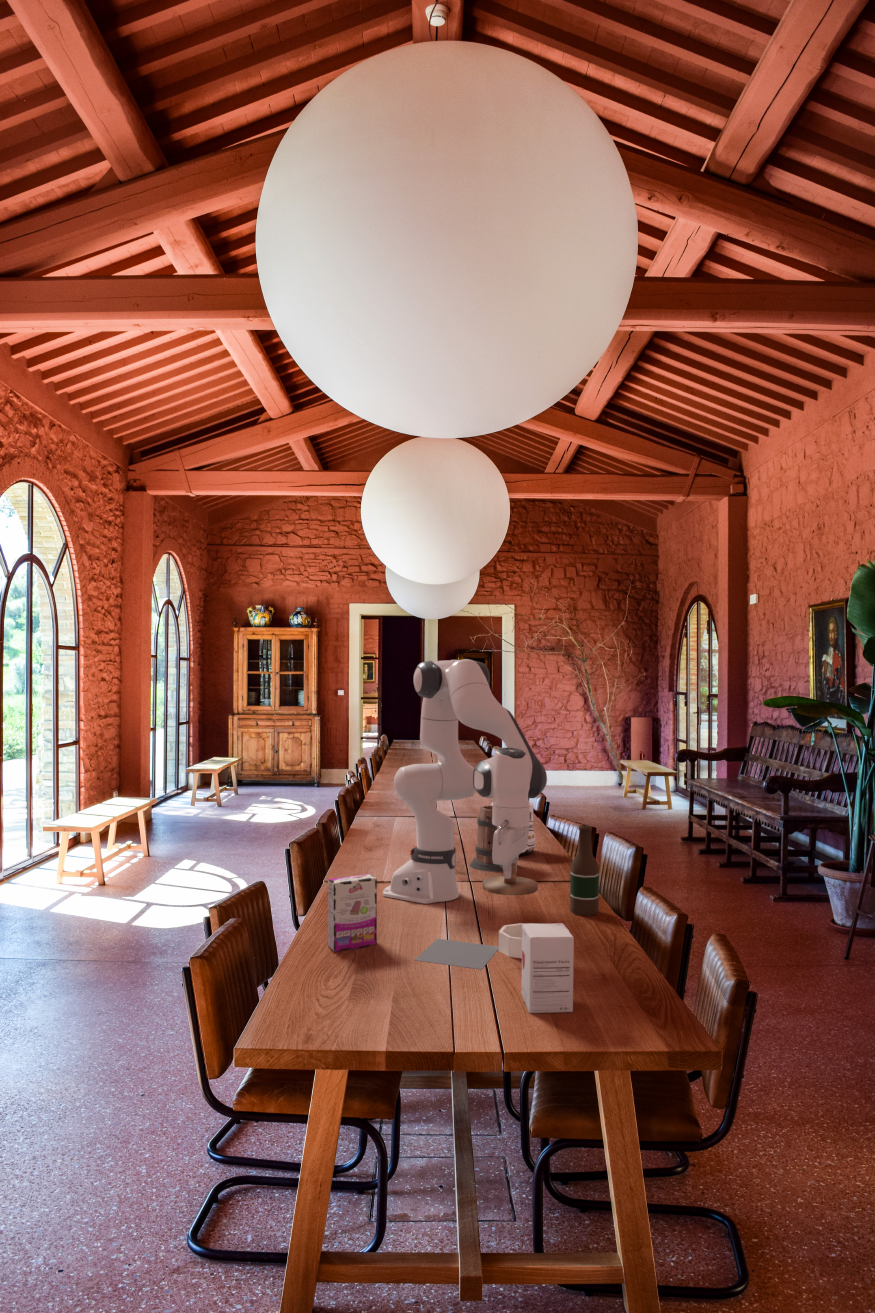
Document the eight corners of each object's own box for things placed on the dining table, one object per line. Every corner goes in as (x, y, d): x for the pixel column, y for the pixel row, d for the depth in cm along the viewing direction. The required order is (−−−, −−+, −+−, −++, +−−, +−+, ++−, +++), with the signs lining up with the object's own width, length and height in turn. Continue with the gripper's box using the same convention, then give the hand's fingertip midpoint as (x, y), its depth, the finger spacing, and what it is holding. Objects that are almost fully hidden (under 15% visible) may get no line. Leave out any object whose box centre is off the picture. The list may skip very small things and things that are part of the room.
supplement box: (520, 995, 170) (521, 922, 170) (562, 995, 171) (563, 922, 171) (528, 1014, 161) (529, 937, 161) (573, 1013, 162) (574, 936, 162)
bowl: (494, 957, 192) (494, 935, 192) (507, 942, 203) (507, 921, 203) (543, 963, 189) (543, 941, 189) (553, 947, 199) (553, 927, 200)
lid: (475, 892, 191) (476, 867, 191) (490, 879, 203) (490, 856, 204) (530, 897, 187) (531, 873, 187) (542, 884, 199) (542, 860, 199)
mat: (414, 962, 188) (414, 960, 188) (437, 941, 203) (437, 938, 203) (481, 972, 183) (481, 969, 183) (500, 949, 198) (500, 946, 198)
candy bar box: (369, 939, 204) (370, 873, 204) (377, 946, 199) (378, 877, 199) (326, 946, 198) (327, 878, 199) (333, 953, 194) (334, 882, 194)
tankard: (464, 860, 289) (465, 803, 289) (511, 859, 292) (512, 802, 292) (480, 877, 266) (480, 815, 266) (530, 876, 269) (531, 814, 269)
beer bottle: (598, 917, 225) (599, 829, 225) (569, 915, 226) (570, 827, 227) (598, 909, 232) (599, 823, 233) (570, 907, 234) (571, 822, 234)
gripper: (512, 826, 185) (512, 888, 184) (533, 811, 204) (532, 867, 204) (485, 823, 187) (485, 885, 187) (508, 810, 206) (507, 865, 206)
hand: (510, 876), depth 195 cm, fingers closed on lid, 3 cm apart
